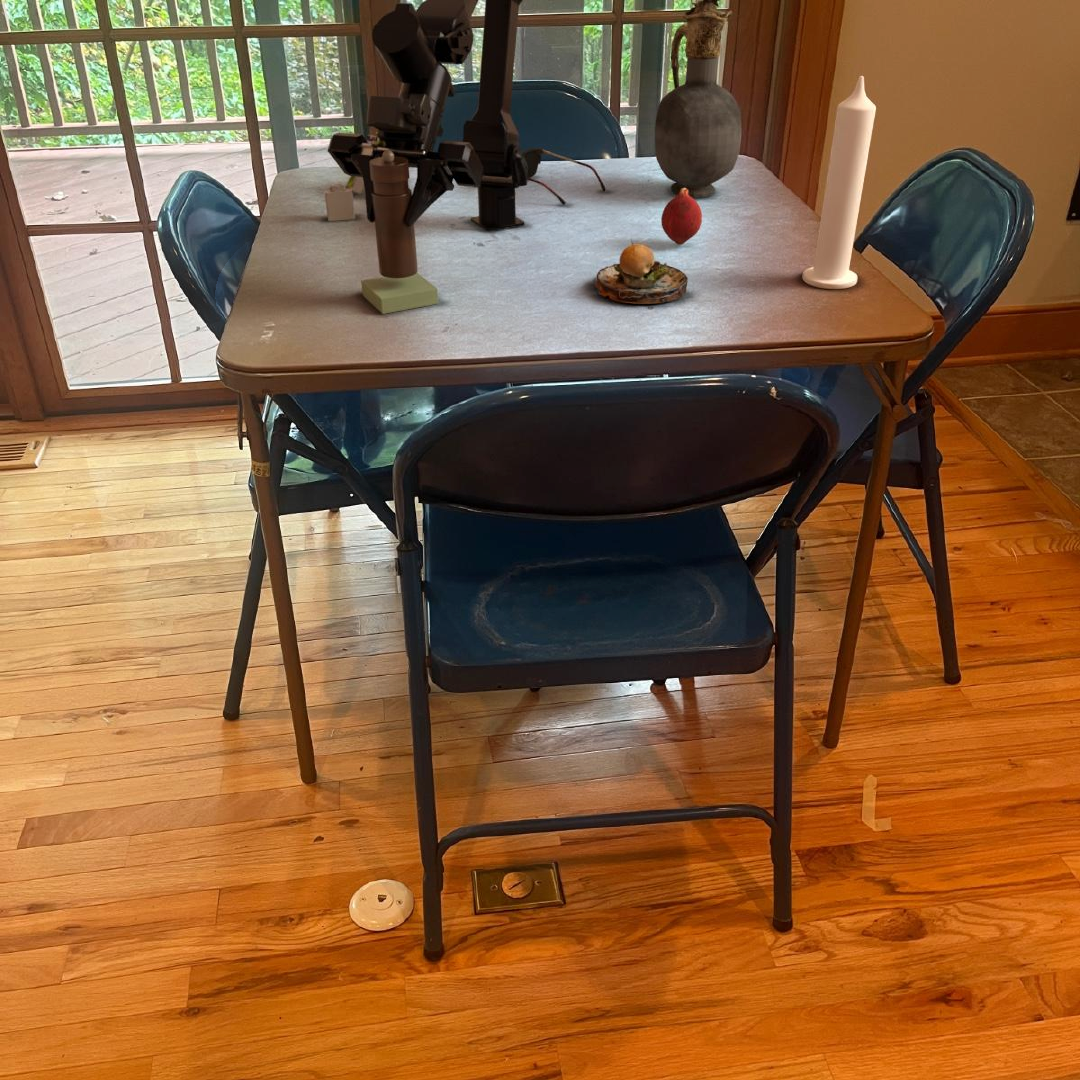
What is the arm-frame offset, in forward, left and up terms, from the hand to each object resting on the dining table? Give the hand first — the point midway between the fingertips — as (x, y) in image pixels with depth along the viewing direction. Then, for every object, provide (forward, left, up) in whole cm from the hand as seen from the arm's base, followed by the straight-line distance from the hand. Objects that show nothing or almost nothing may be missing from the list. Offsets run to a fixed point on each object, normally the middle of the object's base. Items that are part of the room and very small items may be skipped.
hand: (388, 222), depth 122 cm
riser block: (-1, +1, -10) cm, 10 cm away
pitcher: (-26, +63, -10) cm, 69 cm away
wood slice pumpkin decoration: (+11, +30, -10) cm, 33 cm away
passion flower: (-50, +17, -10) cm, 54 cm away
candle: (+20, +54, -10) cm, 58 cm away
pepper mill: (-1, +1, -7) cm, 7 cm away
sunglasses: (-37, +42, -10) cm, 57 cm away
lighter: (-38, +7, -10) cm, 40 cm away
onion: (-2, +45, -10) cm, 46 cm away
